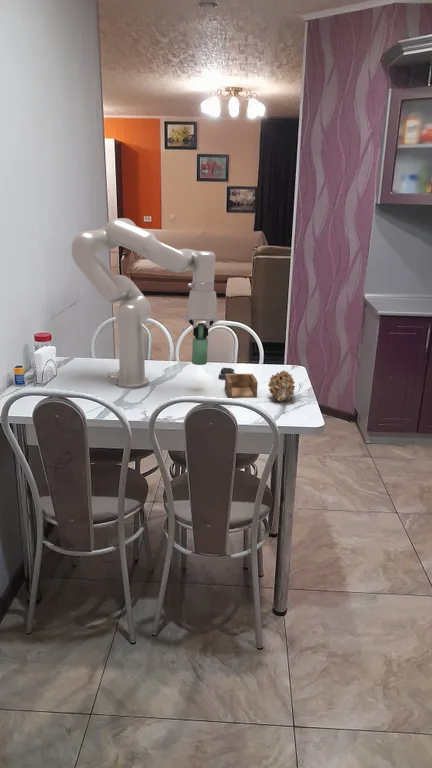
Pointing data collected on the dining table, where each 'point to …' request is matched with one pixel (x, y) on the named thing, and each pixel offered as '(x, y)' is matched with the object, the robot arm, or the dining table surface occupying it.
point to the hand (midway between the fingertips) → (200, 337)
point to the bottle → (200, 347)
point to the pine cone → (282, 386)
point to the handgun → (226, 372)
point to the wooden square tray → (241, 385)
